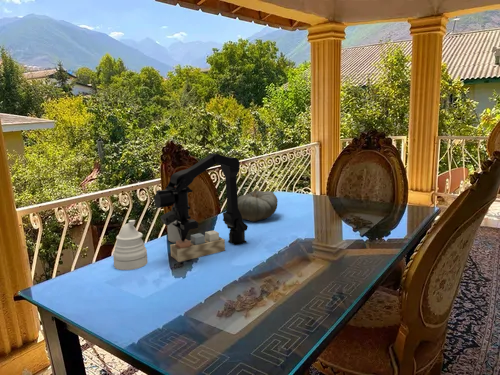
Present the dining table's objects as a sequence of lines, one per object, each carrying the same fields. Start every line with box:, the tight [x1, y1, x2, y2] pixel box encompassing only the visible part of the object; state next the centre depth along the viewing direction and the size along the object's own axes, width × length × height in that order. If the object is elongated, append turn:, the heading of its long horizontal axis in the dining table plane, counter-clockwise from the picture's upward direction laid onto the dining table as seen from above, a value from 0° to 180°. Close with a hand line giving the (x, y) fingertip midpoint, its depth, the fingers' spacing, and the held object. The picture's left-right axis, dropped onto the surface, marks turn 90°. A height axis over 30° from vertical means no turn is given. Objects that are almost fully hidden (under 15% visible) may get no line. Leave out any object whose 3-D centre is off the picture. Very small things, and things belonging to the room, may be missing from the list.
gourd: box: [237, 188, 279, 222], centre depth 213 cm, size 25×25×17 cm
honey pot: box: [112, 219, 149, 271], centre depth 151 cm, size 13×13×18 cm
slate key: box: [190, 232, 205, 245], centre depth 161 cm, size 4×4×5 cm
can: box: [166, 222, 181, 244], centre depth 178 cm, size 8×8×12 cm
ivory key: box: [204, 229, 220, 242], centre depth 165 cm, size 4×4×5 cm
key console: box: [169, 236, 226, 263], centre depth 162 cm, size 22×8×5 cm, turn 124°
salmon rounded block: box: [175, 238, 190, 249], centre depth 158 cm, size 4×4×5 cm
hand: (182, 240), depth 157 cm, fingers closed
